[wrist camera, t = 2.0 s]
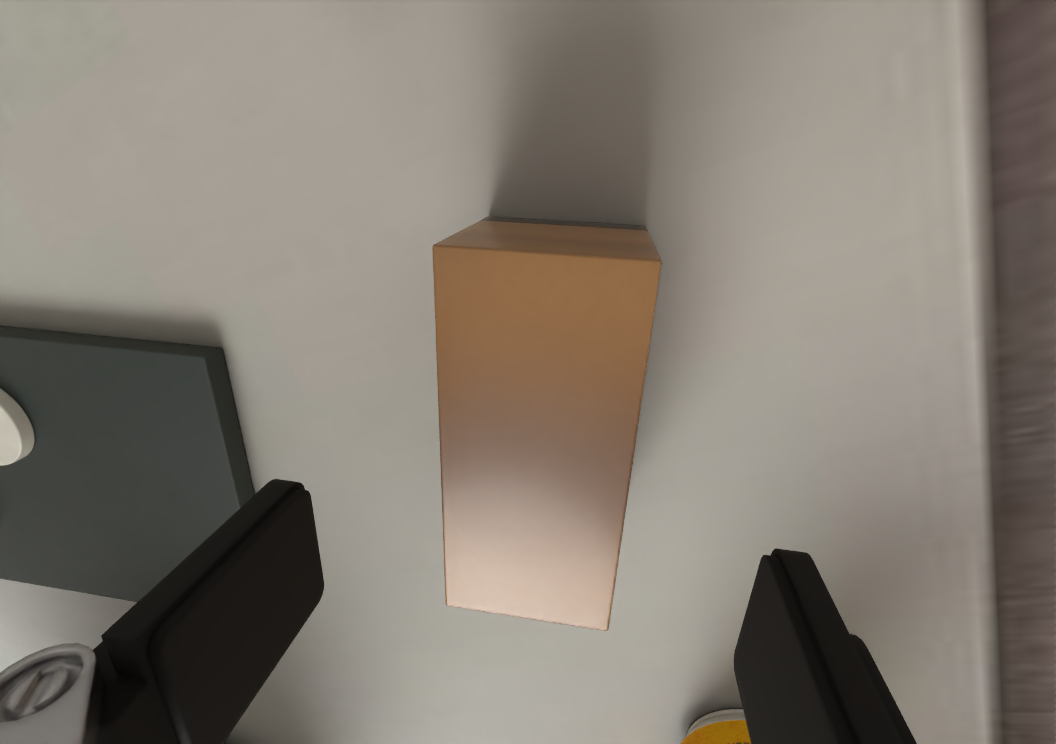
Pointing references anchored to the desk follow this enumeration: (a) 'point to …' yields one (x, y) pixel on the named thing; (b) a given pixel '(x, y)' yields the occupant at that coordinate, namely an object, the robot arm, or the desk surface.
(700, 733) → the beer can
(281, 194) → the desk surface
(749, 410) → the desk surface
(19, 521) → the board
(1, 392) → the white disc
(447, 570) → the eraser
